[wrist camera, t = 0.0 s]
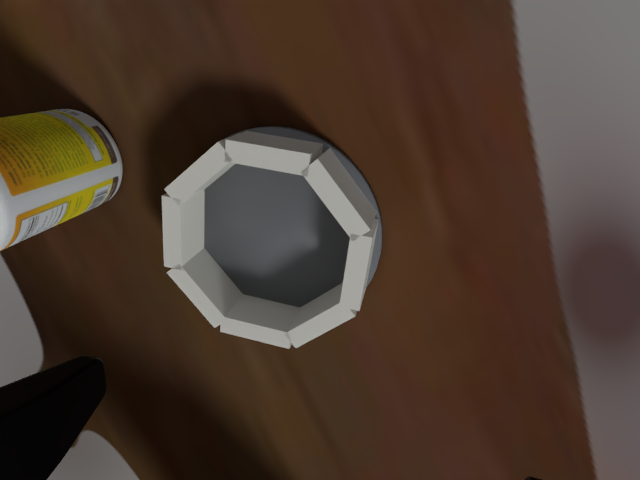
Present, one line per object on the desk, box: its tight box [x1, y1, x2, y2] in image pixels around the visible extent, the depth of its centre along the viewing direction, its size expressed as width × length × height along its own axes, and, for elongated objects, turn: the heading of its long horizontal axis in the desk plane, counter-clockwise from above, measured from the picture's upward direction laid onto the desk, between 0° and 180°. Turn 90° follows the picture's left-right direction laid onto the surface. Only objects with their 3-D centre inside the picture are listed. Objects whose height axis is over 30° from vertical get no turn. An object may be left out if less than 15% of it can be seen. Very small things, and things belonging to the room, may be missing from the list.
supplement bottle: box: [0, 109, 122, 251], centre depth 21 cm, size 6×6×10 cm
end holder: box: [162, 126, 383, 349], centre depth 23 cm, size 11×11×3 cm
